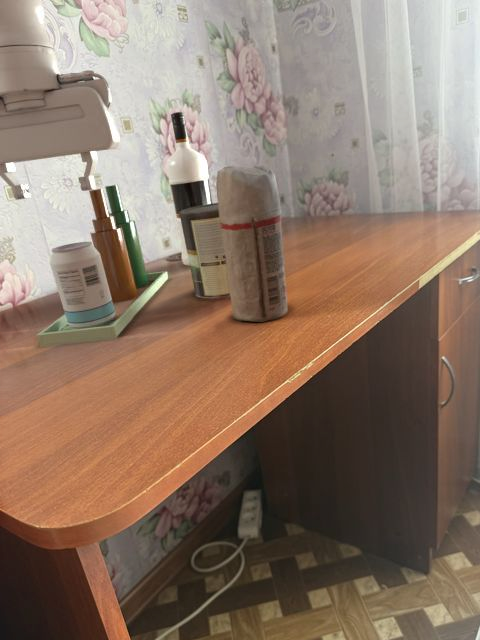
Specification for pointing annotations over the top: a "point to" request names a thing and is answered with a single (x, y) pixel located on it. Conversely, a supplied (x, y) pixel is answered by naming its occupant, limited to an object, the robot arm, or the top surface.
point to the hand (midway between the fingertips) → (56, 194)
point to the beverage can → (82, 285)
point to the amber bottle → (112, 250)
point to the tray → (67, 335)
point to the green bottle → (128, 236)
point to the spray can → (252, 242)
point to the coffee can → (205, 250)
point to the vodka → (186, 176)
